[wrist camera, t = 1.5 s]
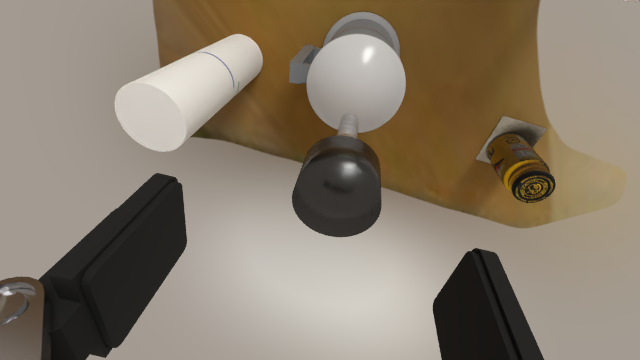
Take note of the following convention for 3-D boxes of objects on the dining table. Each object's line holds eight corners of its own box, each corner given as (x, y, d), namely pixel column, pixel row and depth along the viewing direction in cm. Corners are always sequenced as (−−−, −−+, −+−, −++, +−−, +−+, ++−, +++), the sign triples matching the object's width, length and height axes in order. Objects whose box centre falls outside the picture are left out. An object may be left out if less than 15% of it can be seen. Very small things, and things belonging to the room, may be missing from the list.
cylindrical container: (259, 33, 48) (174, 82, 28) (265, 80, 52) (194, 153, 32) (216, 34, 49) (102, 81, 28) (225, 79, 53) (131, 150, 32)
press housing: (408, 16, 44) (423, 38, 30) (389, 96, 50) (395, 142, 37) (312, 4, 45) (286, 20, 31) (307, 84, 51) (283, 125, 38)
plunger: (384, 98, 25) (390, 174, 16) (372, 152, 28) (371, 243, 19) (323, 89, 25) (294, 159, 16) (318, 143, 28) (290, 229, 19)
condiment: (475, 158, 54) (497, 200, 45) (502, 115, 50) (534, 151, 40) (514, 170, 55) (545, 214, 45) (546, 127, 50) (588, 167, 40)
